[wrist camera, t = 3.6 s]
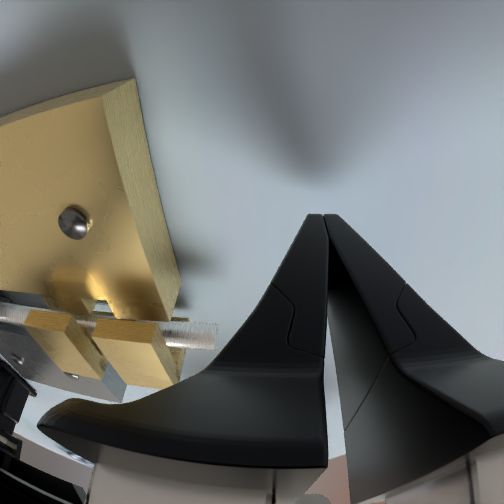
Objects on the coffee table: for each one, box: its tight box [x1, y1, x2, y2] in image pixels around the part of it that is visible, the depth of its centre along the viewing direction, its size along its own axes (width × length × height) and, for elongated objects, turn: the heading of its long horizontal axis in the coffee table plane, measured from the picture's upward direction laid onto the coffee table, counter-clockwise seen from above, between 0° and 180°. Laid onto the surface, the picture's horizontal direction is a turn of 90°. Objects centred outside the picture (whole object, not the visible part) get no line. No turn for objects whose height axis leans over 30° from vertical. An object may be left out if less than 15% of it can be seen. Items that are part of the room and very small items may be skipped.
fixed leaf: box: [0, 296, 218, 403], centre depth 15 cm, size 18×10×4 cm, turn 93°
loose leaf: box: [0, 78, 190, 390], centre depth 10 cm, size 9×10×4 cm
